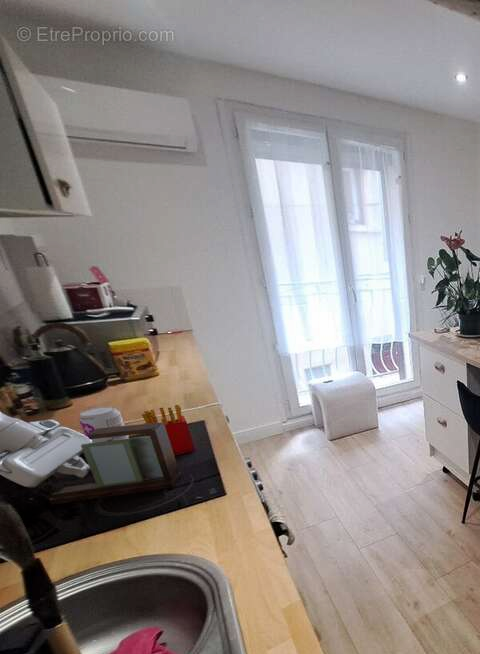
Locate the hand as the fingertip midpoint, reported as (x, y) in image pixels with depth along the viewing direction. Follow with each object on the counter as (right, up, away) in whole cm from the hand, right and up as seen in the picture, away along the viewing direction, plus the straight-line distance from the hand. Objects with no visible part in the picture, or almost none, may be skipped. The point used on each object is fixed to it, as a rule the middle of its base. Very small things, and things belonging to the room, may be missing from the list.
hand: (88, 472), depth 101 cm
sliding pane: (+5, -4, +4) cm, 7 cm away
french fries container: (+1, +2, +24) cm, 24 cm away
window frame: (+4, -5, +4) cm, 8 cm away
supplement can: (-14, +1, +20) cm, 24 cm away
